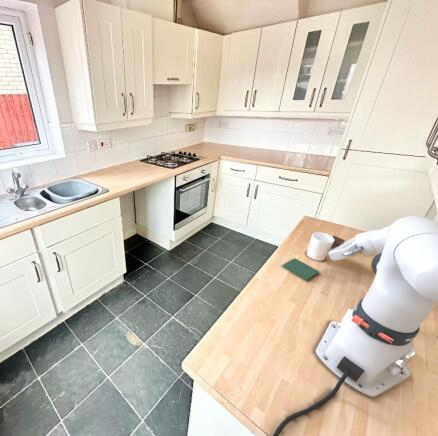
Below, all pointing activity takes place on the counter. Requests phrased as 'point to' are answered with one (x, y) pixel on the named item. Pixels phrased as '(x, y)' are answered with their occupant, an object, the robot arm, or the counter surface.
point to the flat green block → (301, 269)
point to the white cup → (319, 246)
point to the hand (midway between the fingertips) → (330, 251)
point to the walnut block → (337, 242)
